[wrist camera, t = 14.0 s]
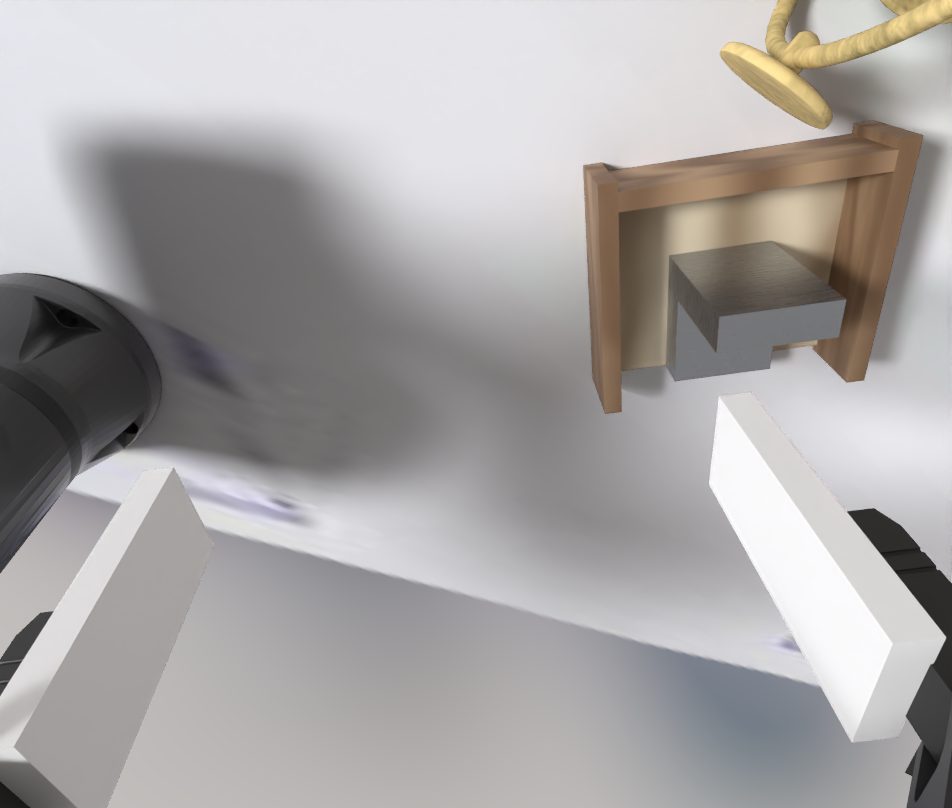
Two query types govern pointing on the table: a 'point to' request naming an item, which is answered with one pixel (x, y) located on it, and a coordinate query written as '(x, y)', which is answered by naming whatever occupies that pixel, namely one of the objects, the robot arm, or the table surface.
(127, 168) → the table surface
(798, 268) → the angle bracket
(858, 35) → the wall sconce
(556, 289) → the table surface
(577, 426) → the table surface
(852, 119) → the table surface
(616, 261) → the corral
